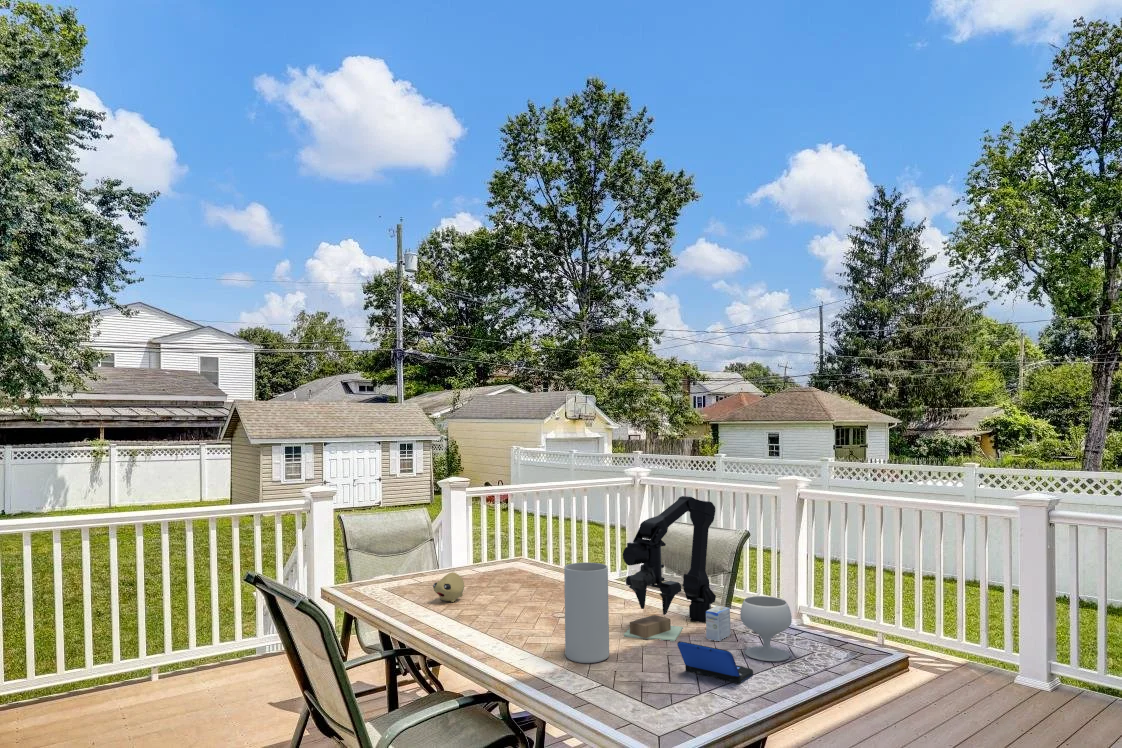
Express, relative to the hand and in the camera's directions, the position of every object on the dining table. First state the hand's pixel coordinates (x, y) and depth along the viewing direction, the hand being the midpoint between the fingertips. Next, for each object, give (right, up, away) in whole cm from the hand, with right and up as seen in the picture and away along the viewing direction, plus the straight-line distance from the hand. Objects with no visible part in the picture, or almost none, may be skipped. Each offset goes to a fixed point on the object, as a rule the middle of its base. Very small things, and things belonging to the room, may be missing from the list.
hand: (653, 611), depth 211 cm
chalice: (+29, -4, -23) cm, 37 cm away
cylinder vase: (-22, -5, -22) cm, 32 cm away
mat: (0, -7, -1) cm, 6 cm away
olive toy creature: (-72, -11, +41) cm, 83 cm away
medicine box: (+19, -6, -7) cm, 21 cm away
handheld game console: (+11, -4, -37) cm, 39 cm away
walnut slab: (+3, -4, +2) cm, 6 cm away
